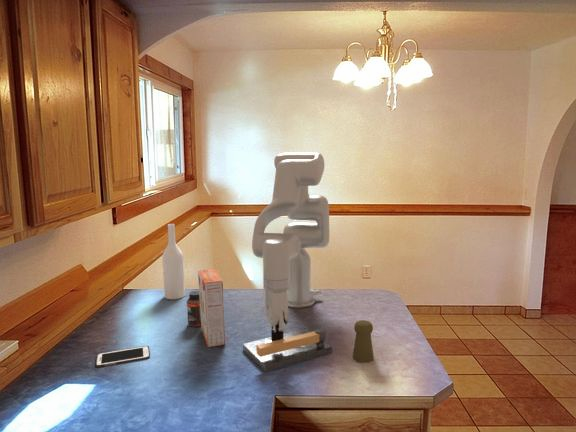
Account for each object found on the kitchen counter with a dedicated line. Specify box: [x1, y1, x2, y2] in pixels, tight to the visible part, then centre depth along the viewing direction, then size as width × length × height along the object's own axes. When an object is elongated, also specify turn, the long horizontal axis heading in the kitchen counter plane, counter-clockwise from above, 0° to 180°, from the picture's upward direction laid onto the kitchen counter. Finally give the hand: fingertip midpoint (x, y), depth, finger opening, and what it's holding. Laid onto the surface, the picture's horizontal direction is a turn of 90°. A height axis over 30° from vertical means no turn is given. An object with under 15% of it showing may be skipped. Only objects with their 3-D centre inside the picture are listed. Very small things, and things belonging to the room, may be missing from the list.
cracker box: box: [197, 268, 226, 348], centre depth 137 cm, size 14×6×21 cm, turn 19°
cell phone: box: [94, 345, 151, 368], centre depth 127 cm, size 8×15×1 cm, turn 110°
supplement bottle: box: [186, 290, 201, 328], centre depth 149 cm, size 6×6×11 cm
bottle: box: [162, 223, 186, 300], centre depth 175 cm, size 8×8×30 cm
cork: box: [352, 319, 375, 364], centre depth 124 cm, size 6×6×11 cm
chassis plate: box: [242, 328, 333, 373], centre depth 129 cm, size 22×15×4 cm
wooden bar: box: [256, 328, 327, 357], centre depth 124 cm, size 22×3×3 cm, turn 118°
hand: (277, 343), depth 125 cm, fingers closed
